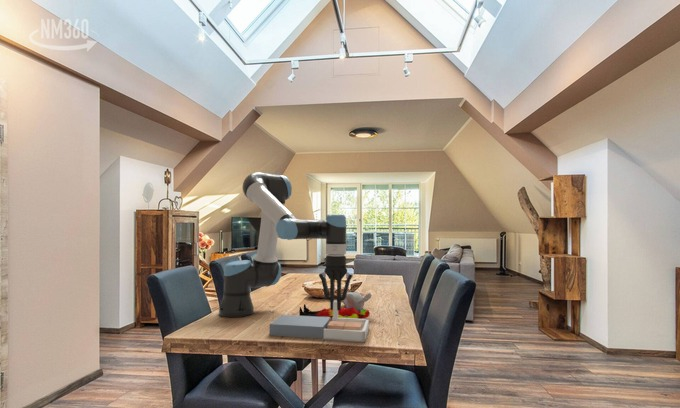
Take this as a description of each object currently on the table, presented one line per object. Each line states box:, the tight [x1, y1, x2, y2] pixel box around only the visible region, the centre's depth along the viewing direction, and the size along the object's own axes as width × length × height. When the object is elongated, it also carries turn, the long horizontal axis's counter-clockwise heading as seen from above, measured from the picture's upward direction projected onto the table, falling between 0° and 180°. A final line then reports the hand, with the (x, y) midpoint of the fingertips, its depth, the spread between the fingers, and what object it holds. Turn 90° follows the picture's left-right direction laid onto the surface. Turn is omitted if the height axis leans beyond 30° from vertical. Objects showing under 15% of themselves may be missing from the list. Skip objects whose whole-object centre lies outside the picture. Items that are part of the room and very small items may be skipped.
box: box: [323, 317, 370, 343], centre depth 133 cm, size 14×17×4 cm
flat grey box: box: [268, 314, 332, 340], centre depth 136 cm, size 20×14×4 cm
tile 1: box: [327, 320, 346, 330], centre depth 134 cm, size 6×6×3 cm
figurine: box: [298, 303, 371, 319], centre depth 156 cm, size 12×6×30 cm
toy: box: [341, 291, 373, 313], centre depth 168 cm, size 12×10×30 cm
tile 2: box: [344, 322, 362, 331], centre depth 133 cm, size 6×6×3 cm
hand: (335, 318), depth 134 cm, fingers closed
